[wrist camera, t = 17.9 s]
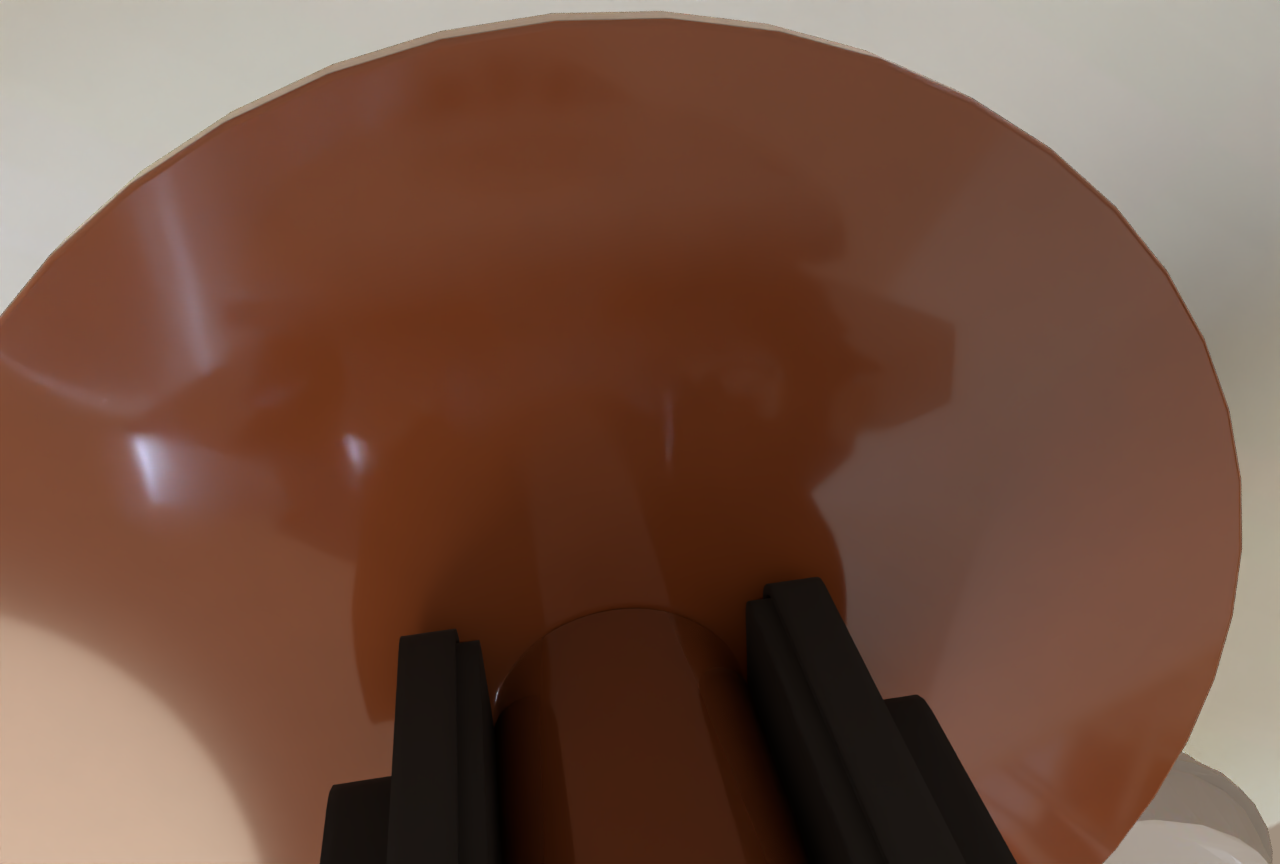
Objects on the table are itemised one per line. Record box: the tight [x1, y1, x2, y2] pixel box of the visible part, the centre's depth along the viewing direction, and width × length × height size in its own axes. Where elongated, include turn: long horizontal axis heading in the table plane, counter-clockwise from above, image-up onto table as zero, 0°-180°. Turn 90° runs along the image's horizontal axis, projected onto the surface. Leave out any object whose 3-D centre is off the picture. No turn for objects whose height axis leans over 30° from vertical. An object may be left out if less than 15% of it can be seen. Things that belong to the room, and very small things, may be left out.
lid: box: [0, 11, 1242, 864], centre depth 10 cm, size 13×13×6 cm
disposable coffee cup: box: [1103, 752, 1273, 864], centre depth 29 cm, size 10×10×12 cm
